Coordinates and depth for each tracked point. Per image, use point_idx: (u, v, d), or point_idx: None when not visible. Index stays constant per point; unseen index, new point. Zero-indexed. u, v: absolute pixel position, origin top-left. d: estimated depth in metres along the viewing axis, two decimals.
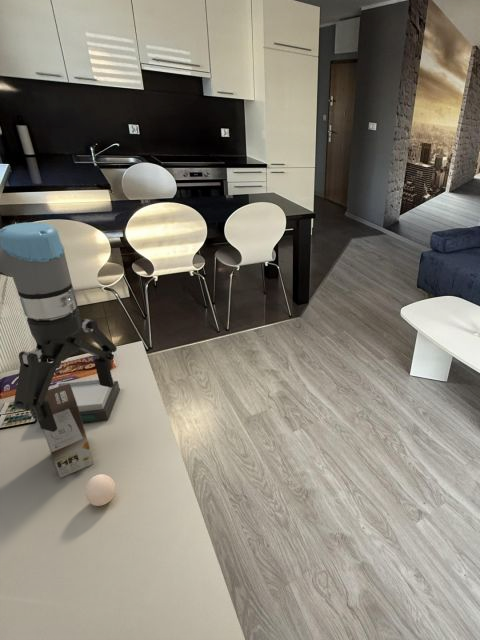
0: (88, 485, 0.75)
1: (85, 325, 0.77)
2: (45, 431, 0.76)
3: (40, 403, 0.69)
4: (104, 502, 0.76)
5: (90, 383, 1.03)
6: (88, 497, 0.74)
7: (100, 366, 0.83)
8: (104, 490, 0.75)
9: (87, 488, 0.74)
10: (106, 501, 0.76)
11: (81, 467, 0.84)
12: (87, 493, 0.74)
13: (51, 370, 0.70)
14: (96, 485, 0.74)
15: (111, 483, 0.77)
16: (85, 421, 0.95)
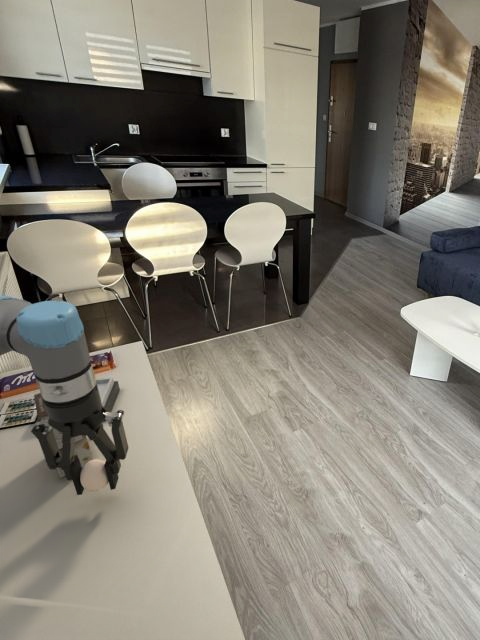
0: (83, 470, 0.73)
1: (111, 417, 0.70)
2: None
3: (65, 468, 0.71)
4: (99, 488, 0.74)
5: None
6: (82, 482, 0.73)
7: None
8: (99, 475, 0.73)
9: (82, 473, 0.73)
10: (101, 487, 0.74)
11: None
12: (82, 478, 0.73)
13: (65, 444, 0.69)
14: (90, 470, 0.73)
15: None
16: None
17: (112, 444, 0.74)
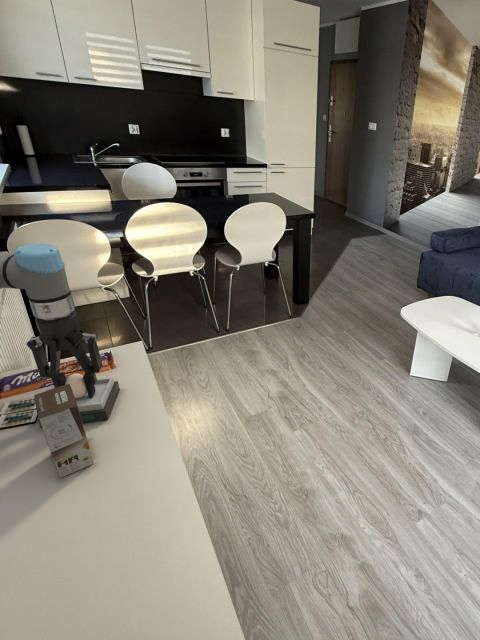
0: (67, 380, 0.95)
1: (87, 336, 0.92)
2: (45, 431, 0.76)
3: (52, 377, 0.93)
4: (79, 394, 0.96)
5: None
6: None
7: None
8: (79, 384, 0.96)
9: (66, 382, 0.95)
10: (81, 394, 0.97)
11: (81, 467, 0.84)
12: None
13: (52, 356, 0.91)
14: (72, 380, 0.95)
15: None
16: (85, 421, 0.95)
17: (89, 360, 0.96)
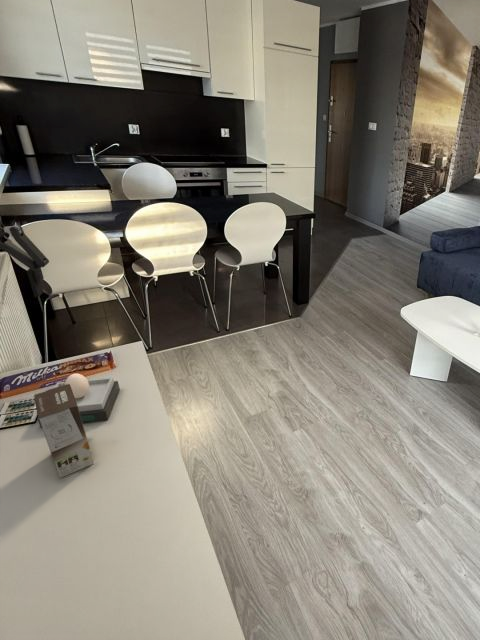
0: (67, 380, 0.95)
1: (8, 228, 0.84)
2: (45, 431, 0.76)
3: None
4: (79, 394, 0.96)
5: (90, 383, 1.03)
6: None
7: None
8: (79, 384, 0.96)
9: (66, 382, 0.95)
10: (81, 394, 0.97)
11: (81, 467, 0.84)
12: None
13: None
14: (72, 380, 0.95)
15: (85, 380, 0.97)
16: (85, 421, 0.95)
17: (28, 255, 0.89)
